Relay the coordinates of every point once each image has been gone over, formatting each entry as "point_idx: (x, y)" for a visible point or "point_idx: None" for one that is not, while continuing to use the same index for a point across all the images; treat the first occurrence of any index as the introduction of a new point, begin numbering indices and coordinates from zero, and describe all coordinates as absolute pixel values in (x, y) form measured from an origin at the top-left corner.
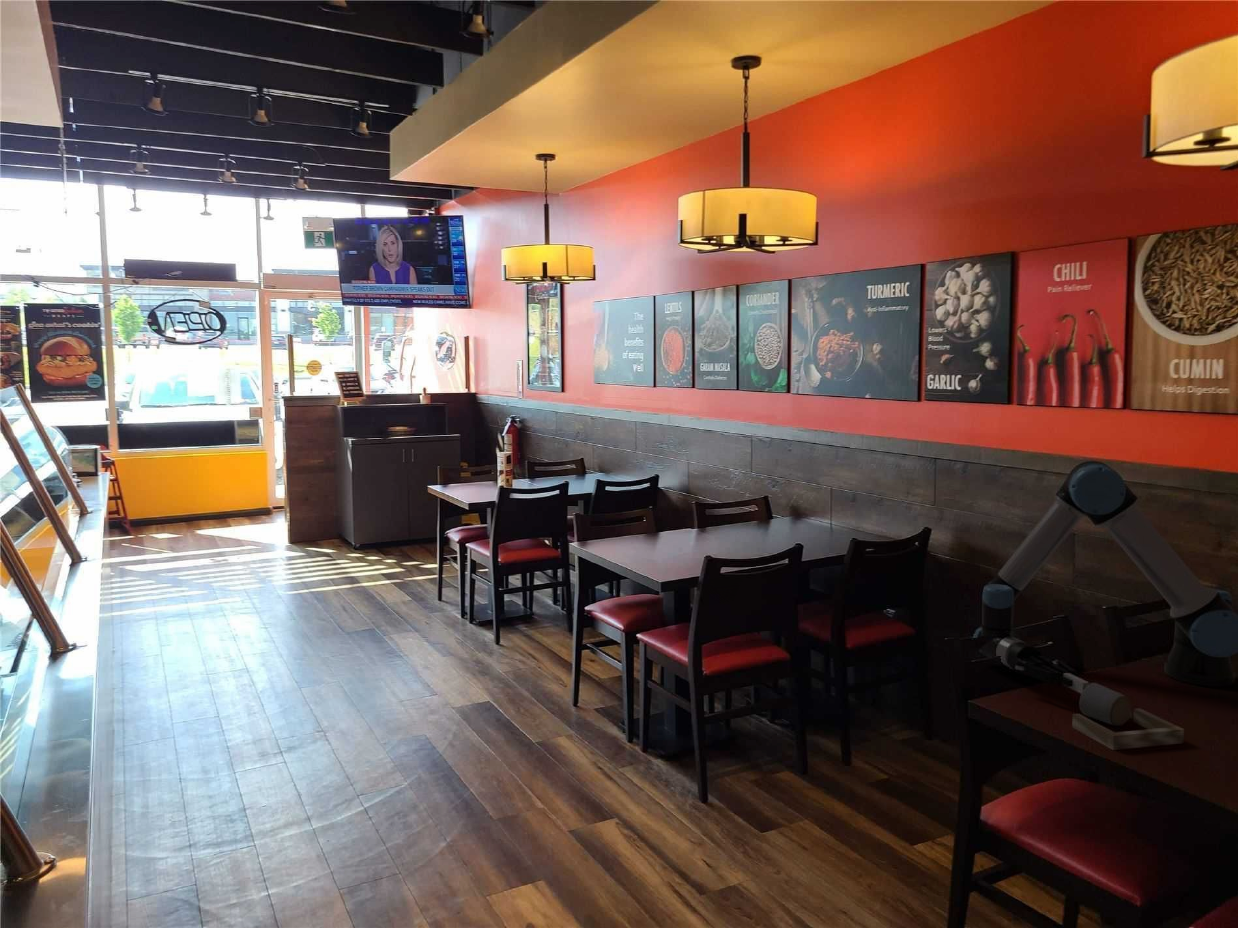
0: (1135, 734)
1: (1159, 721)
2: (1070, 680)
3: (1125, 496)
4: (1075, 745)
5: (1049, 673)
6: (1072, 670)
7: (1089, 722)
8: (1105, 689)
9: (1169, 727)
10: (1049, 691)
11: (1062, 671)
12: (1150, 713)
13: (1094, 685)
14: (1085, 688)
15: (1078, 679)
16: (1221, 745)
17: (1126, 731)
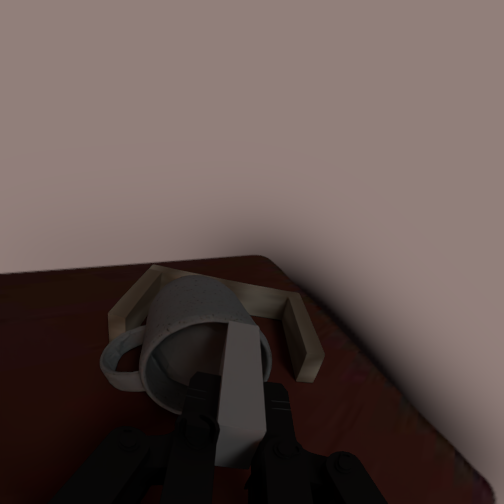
0: (254, 286)
1: (152, 284)
2: (269, 384)
3: None
4: (345, 337)
5: (355, 459)
6: (122, 455)
7: (310, 324)
8: (213, 291)
9: (168, 272)
10: None
11: (211, 489)
12: (122, 297)
13: (226, 308)
14: (259, 329)
15: (248, 349)
16: (109, 269)
17: (263, 292)
